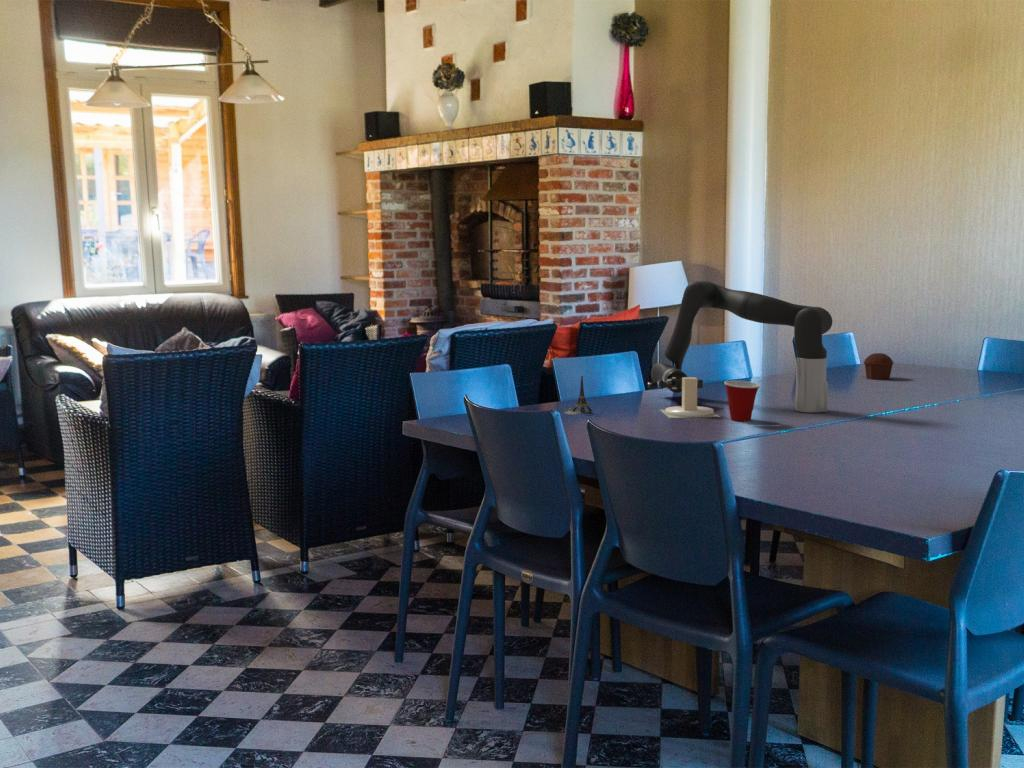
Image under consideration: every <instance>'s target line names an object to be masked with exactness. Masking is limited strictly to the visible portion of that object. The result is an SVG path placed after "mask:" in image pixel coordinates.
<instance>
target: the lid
mask: <svg viewBox="0 0 1024 768" xmlns="http://www.w3.org/2000/svg"><path fill="white" fill-rule="evenodd" d="M697 378H698V377H695V376H693V377H692V376H691V377H690V376H689V377H688V376H687V377H682V392H681V405H675V406H669V407H666V408H665V409H664V410H665V413H666V414H668V415H672V416H680V417H692V418H705V417H704V416H710V415H713V413H715V412H714V408H711V407H706V406H702V405H701V406H699V405H698V389H697Z"/></svg>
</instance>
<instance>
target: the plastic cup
mask: <svg viewBox="0 0 1024 768" xmlns="http://www.w3.org/2000/svg"><path fill="white" fill-rule="evenodd" d="M723 384H724V386H725V390H726V396H727V404H728V410H729V417H730V420H731V421H733V422H741V423H742V422H750V421H751V420H752V415H753V411H754V406H755V401H756V396H757V393H758V390H759V388H761V384H760V383H757V382H756V383H755V382H751V381H744V380H725V381H724V382H723Z"/></svg>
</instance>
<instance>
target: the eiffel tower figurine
mask: <svg viewBox="0 0 1024 768" xmlns="http://www.w3.org/2000/svg"><path fill="white" fill-rule="evenodd" d="M583 379H584V376H583V375H580V389H579V395H578V399H577V402H575V405H574V407H568V408H567V409H569V410H568V411H567V409H566V410H565V411H564V412H563V413H564V414H565V415H566V414H567V415H573V416H574V415H578V414H580V413H581V414H588V413H593V412H594V411H593V409H591V407H590V405H589V403H588V402H587V400H586V396H585V392H584V391H585V389H584V380H583ZM577 408H579V410H577ZM585 408H586V409H585Z"/></svg>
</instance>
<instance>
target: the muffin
mask: <svg viewBox="0 0 1024 768" xmlns="http://www.w3.org/2000/svg"><path fill="white" fill-rule="evenodd" d="M863 364H864V370H865V378H866V379H867V380H872V381H873V380H874V381H875V380H877V381H885V380H886V381H887V380H890V379H891V374H892V373H891V372H892V369H893V365H894V361H893V359H892V358H891V357H890V356H889V355H887V354H886V353H882V352H875V353H871V354H870V355H868V356H867V357H866V358H865V359H864V360H863Z"/></svg>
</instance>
